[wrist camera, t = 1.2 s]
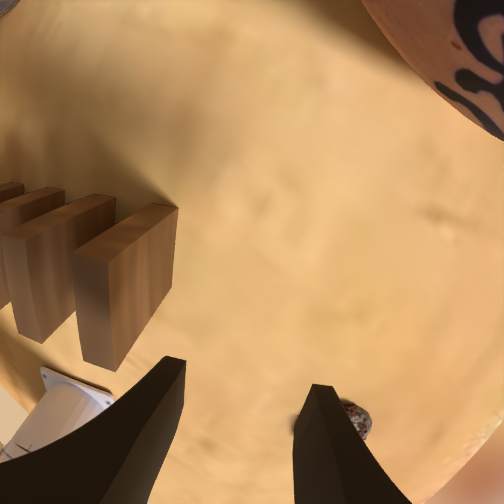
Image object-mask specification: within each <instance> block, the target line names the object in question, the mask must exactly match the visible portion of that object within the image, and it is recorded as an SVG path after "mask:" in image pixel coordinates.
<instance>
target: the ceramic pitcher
mask: <svg viewBox="0 0 504 504" xmlns="http://www.w3.org/2000/svg"><path fill="white" fill-rule="evenodd" d="M360 1H361V2H362V4H363V5H364V7H365V8H366V10H367V11H368V13H369V14H370V16H371V17H372V19H373V20H374V21H375V23H376V24H377V26H378V27H379V28H380V30H381V31H382V33H383V34H384V35H385V37H386V38H387V40H388V41H389V42H390V43H391V44H392V46H393V47H394V48H395V49H396V50H397V52H398V53H399V54H400V55H401V56H402V58H403V59H404V60H405V61H406V62H407V63H408V65H409V66H410V67H411V68H412V69H413V70H414V71H415V72H416V73H417V74H418V75H419V76H420V77H421V78H422V79H423V80H424V82H425V83H426V84H428V85H429V86H430V87H431V88H432V89H433V90H434V91H435V92H436V93H437V94H438V95H439V96H441V97H442V98H443V99H444V100H446V101H447V102H448V103H449V104H451V105H452V106H453V107H454V108H455V109H457V110H458V111H459V112H460V113H461V114H463V115H464V116H465V117H467V118H468V119H470V120H471V121H472V122H474V123H475V124H477V125H478V126H480V127H481V128H483V129H484V130H486V131H487V132H488V133H490V134H491V135H493V136H495V137H497V138H498V139H500V140H502V141H504V0H360Z"/></svg>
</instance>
